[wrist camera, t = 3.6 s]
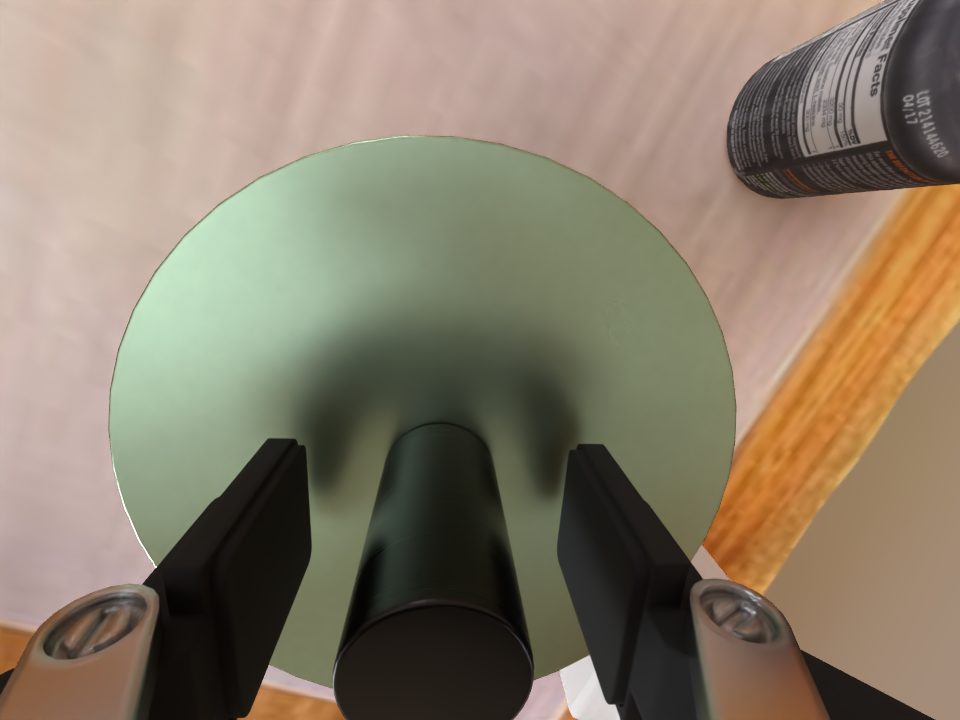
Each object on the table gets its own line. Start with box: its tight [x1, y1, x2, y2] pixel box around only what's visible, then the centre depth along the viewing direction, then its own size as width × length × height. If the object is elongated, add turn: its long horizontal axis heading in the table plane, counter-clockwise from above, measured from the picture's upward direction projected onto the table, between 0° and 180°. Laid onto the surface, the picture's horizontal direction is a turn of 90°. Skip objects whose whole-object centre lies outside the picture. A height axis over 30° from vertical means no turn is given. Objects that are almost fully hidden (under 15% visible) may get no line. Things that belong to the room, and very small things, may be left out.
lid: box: [109, 136, 736, 720], centre depth 9 cm, size 16×16×7 cm
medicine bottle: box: [559, 544, 731, 720], centre depth 21 cm, size 7×7×12 cm
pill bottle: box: [727, 0, 960, 199], centre depth 15 cm, size 6×6×11 cm
